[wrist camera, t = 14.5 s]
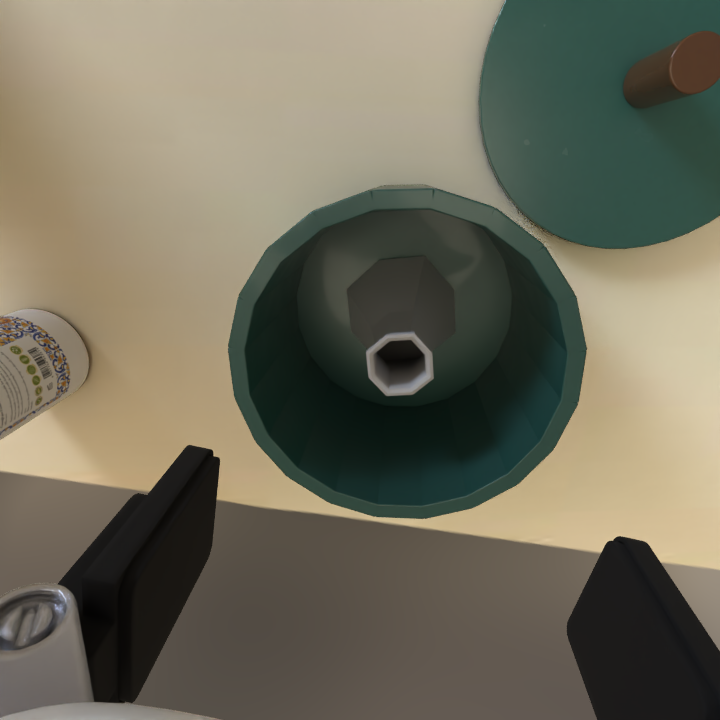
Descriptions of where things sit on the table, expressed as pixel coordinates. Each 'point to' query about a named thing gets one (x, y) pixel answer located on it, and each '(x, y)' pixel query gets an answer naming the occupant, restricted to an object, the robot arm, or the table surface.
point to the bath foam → (37, 365)
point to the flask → (401, 321)
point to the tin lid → (606, 116)
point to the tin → (450, 359)
